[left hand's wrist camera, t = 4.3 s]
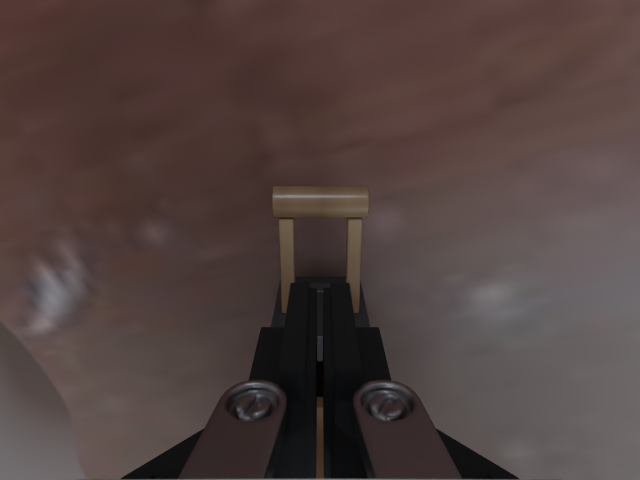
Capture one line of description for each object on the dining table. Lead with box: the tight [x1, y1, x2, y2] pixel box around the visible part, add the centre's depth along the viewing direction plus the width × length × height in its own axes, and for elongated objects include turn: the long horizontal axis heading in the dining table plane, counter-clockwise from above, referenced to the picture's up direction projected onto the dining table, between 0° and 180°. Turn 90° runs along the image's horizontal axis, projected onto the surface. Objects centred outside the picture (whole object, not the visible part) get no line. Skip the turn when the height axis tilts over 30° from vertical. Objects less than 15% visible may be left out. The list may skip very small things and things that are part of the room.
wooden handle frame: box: [271, 186, 370, 397], centre depth 22 cm, size 20×4×6 cm, turn 0°
